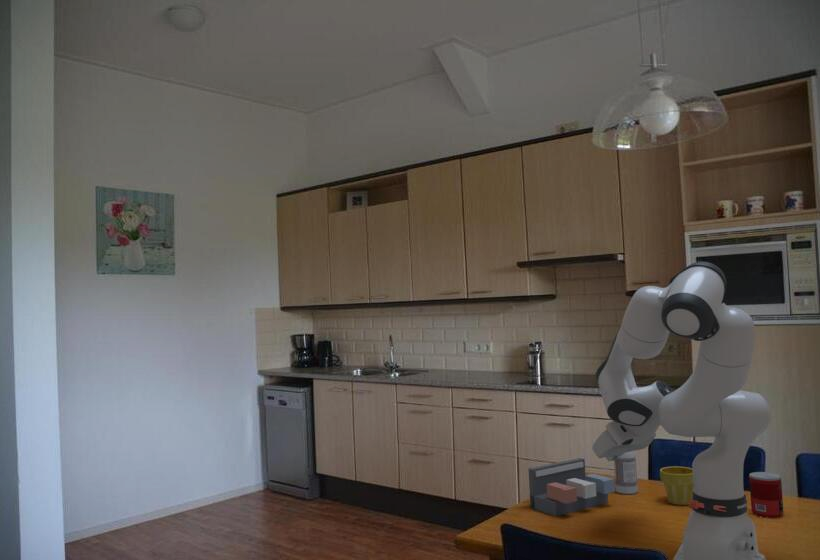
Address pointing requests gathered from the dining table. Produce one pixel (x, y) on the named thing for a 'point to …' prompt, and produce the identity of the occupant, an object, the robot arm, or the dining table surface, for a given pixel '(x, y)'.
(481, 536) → the dining table surface
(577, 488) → the ivory key
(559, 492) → the terracotta key
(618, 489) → the bath foam
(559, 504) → the console
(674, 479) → the plant pot
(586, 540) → the dining table surface
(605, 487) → the slate-blue key
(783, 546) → the dining table surface
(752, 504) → the canned food
